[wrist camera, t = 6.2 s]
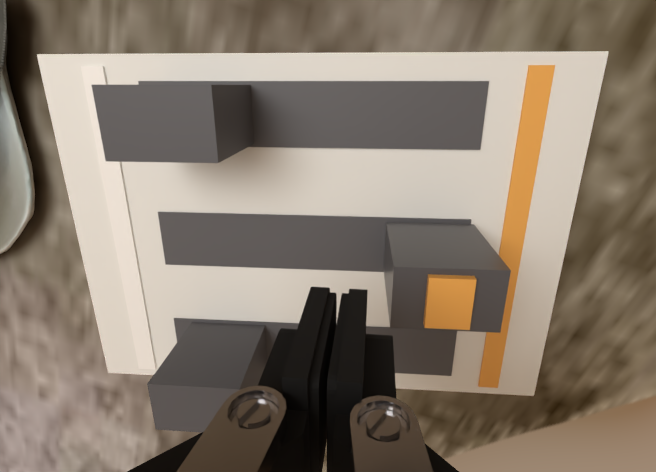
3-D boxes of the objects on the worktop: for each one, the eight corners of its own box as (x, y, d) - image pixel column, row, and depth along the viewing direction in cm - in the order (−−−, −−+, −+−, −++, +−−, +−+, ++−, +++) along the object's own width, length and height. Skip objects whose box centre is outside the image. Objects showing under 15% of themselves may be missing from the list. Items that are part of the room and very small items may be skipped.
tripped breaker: (473, 224, 19) (513, 274, 14) (467, 273, 20) (502, 337, 15) (386, 222, 19) (394, 270, 14) (383, 270, 20) (390, 332, 15)
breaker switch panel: (583, 55, 18) (708, 37, 12) (520, 371, 24) (579, 479, 17) (67, 57, 20) (-78, 43, 13) (126, 351, 26) (46, 442, 19)
